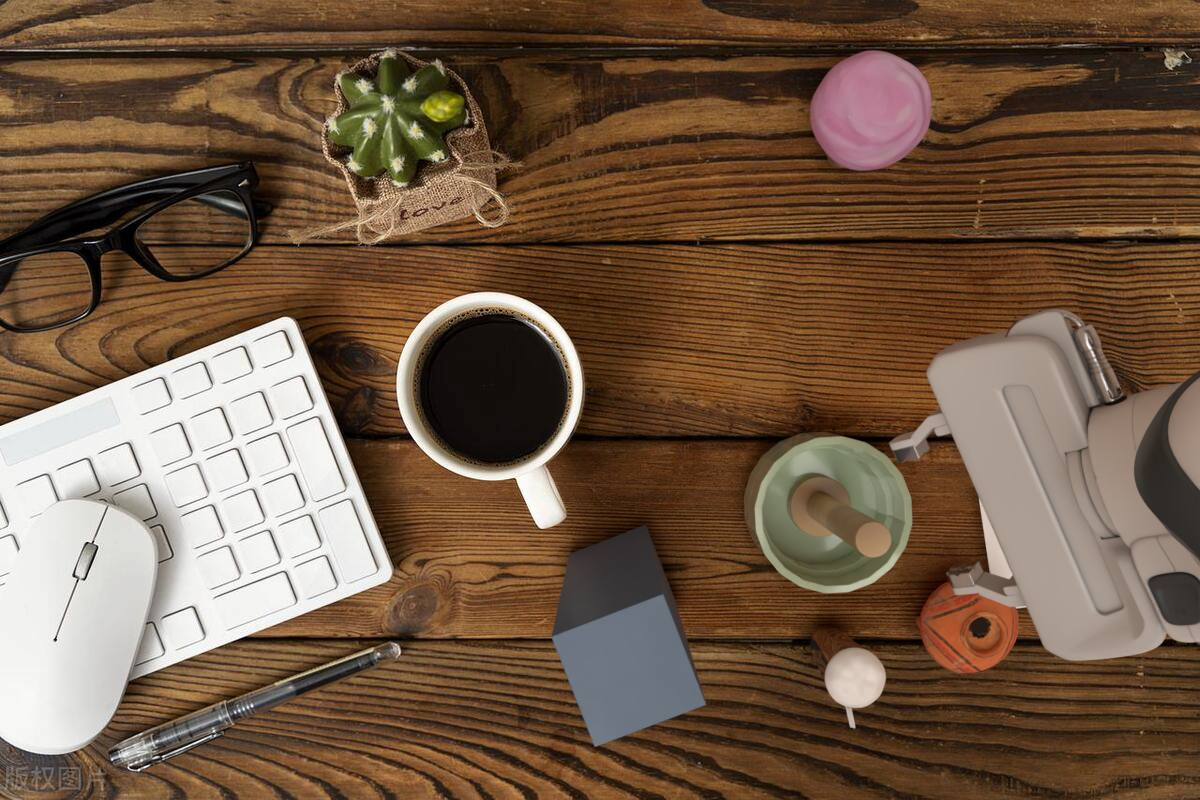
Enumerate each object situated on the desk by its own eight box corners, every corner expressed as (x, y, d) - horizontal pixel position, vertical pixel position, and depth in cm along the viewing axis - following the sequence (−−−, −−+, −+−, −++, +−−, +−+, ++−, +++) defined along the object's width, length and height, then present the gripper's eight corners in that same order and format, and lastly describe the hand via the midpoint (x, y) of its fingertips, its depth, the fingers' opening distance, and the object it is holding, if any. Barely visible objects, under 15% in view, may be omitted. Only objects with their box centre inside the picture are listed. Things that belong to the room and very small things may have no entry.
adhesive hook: (1012, 578, 72) (1031, 587, 69) (1008, 548, 72) (1026, 556, 69) (1048, 572, 72) (1068, 581, 69) (1044, 542, 72) (1063, 550, 69)
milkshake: (793, 673, 73) (822, 720, 63) (808, 612, 73) (840, 650, 63) (844, 686, 73) (882, 735, 63) (860, 625, 73) (900, 665, 63)
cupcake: (823, 205, 72) (857, 178, 62) (775, 113, 72) (802, 70, 62) (918, 155, 72) (968, 120, 62) (870, 63, 71) (913, 12, 61)
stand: (675, 600, 73) (706, 704, 50) (598, 630, 73) (594, 747, 50) (645, 524, 73) (663, 593, 50) (569, 554, 73) (551, 636, 50)
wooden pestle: (854, 521, 72) (922, 561, 56) (799, 542, 72) (851, 588, 56) (833, 465, 72) (895, 490, 56) (777, 487, 72) (824, 517, 56)
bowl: (908, 544, 72) (935, 559, 66) (773, 596, 73) (788, 615, 67) (856, 410, 72) (879, 413, 66) (721, 462, 72) (732, 470, 66)
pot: (914, 555, 72) (965, 576, 66) (990, 576, 74) (1048, 599, 67) (887, 646, 72) (936, 676, 66) (964, 665, 74) (1019, 696, 67)
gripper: (1065, 311, 44) (840, 385, 54) (1219, 669, 45) (967, 678, 55) (1096, 284, 49) (882, 358, 59) (1236, 612, 49) (1000, 629, 59)
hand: (924, 515), depth 57 cm, fingers open, 8 cm apart
